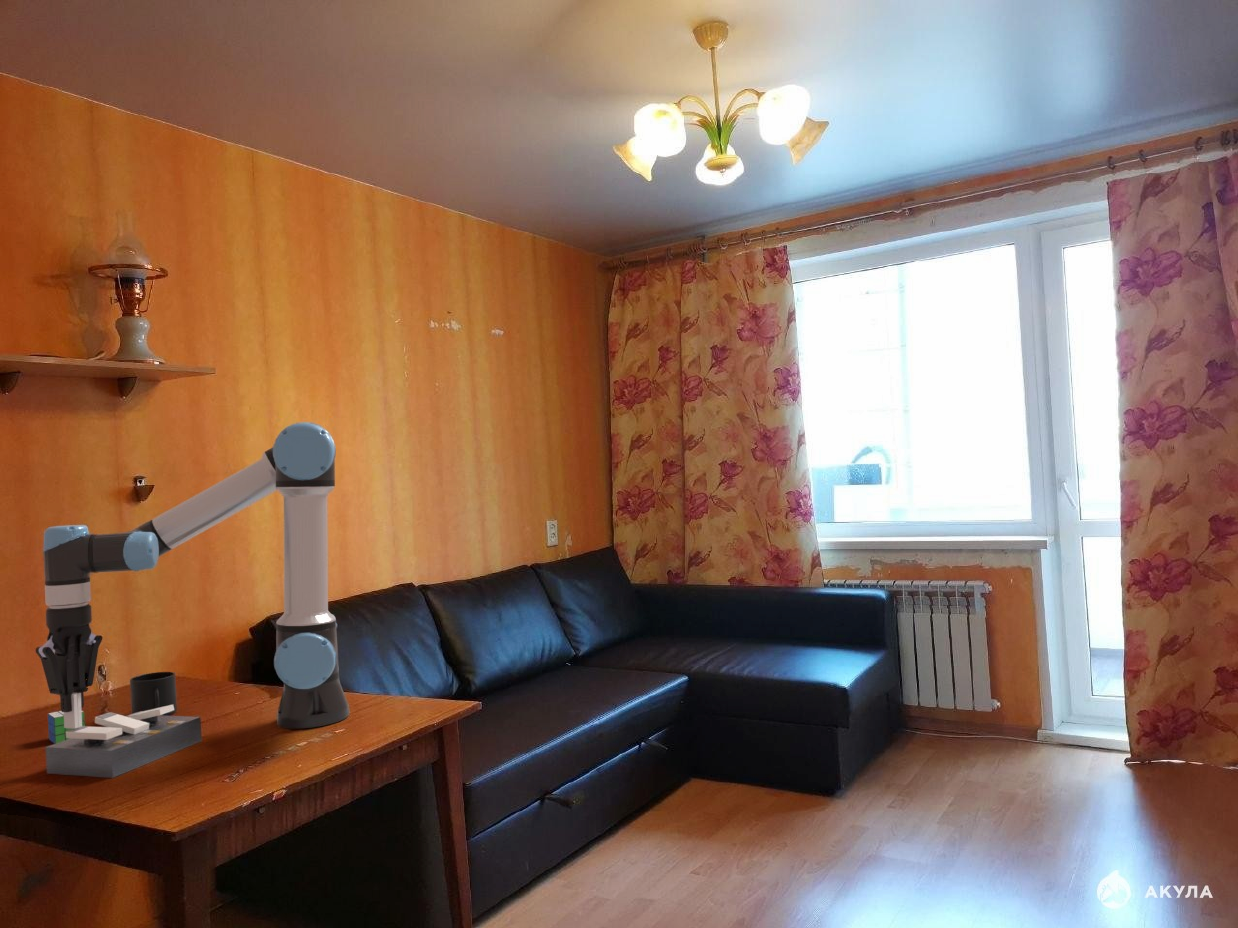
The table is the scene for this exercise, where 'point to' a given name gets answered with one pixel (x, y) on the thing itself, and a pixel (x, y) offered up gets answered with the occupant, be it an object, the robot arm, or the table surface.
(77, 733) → the rocker
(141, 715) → the block
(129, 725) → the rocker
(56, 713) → the puzzle toy
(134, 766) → the switch unit
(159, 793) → the table surface
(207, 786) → the table surface
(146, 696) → the mug
